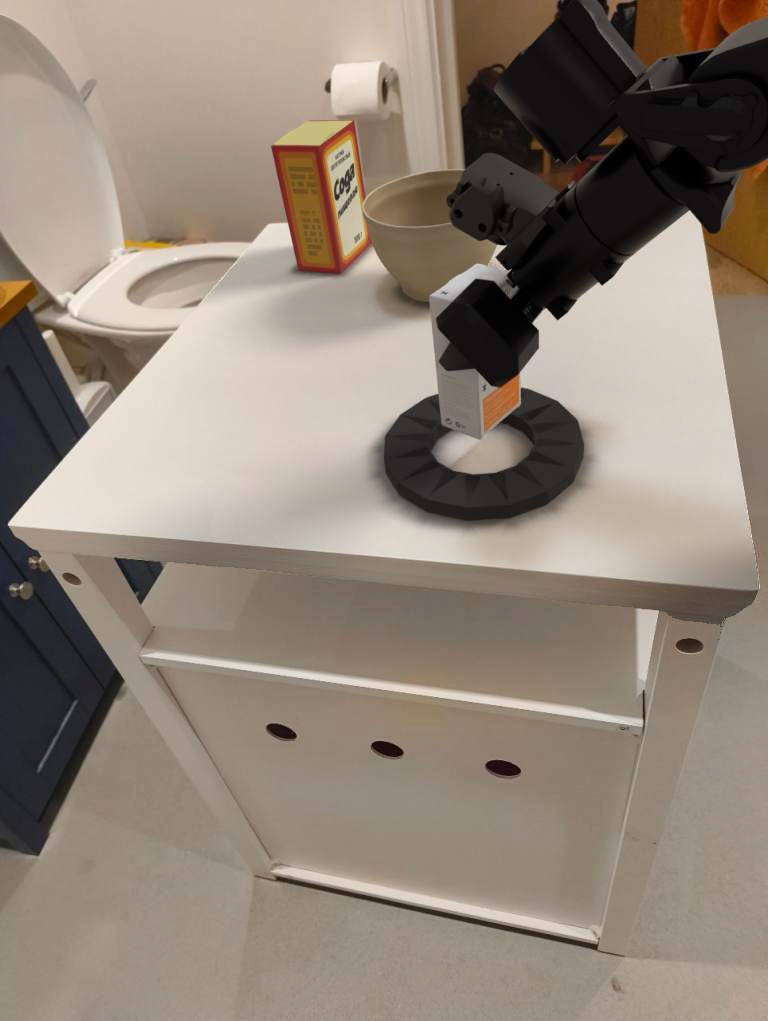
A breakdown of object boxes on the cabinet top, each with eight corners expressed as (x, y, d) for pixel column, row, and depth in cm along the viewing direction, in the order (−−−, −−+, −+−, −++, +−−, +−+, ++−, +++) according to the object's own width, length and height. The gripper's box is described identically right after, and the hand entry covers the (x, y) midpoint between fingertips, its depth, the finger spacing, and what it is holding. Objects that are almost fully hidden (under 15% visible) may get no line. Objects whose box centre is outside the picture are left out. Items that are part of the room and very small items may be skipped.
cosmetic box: (481, 442, 60) (472, 307, 52) (440, 426, 62) (425, 295, 54) (524, 404, 63) (521, 271, 55) (483, 390, 65) (475, 261, 57)
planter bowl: (361, 275, 95) (347, 188, 88) (479, 246, 97) (475, 159, 89) (395, 331, 83) (382, 237, 76) (529, 297, 85) (529, 202, 78)
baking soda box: (330, 239, 104) (308, 117, 94) (372, 242, 102) (353, 116, 91) (298, 270, 99) (270, 142, 88) (341, 273, 96) (317, 143, 85)
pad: (566, 390, 71) (566, 377, 70) (597, 512, 58) (598, 498, 57) (389, 405, 73) (387, 393, 72) (382, 527, 60) (380, 513, 59)
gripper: (577, 72, 51) (447, 220, 63) (452, 171, 40) (325, 326, 52) (681, 197, 52) (534, 316, 65) (588, 324, 41) (434, 438, 54)
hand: (462, 343), depth 59 cm, fingers closed on cosmetic box, 6 cm apart
